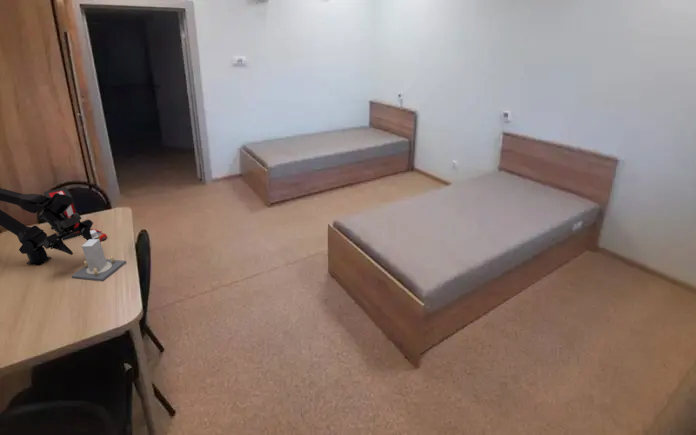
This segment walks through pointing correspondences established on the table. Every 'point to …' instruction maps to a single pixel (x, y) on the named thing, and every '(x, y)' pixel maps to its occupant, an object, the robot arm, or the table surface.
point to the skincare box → (94, 254)
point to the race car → (100, 234)
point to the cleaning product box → (69, 211)
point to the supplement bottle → (94, 235)
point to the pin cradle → (99, 275)
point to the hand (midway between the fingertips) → (83, 249)
